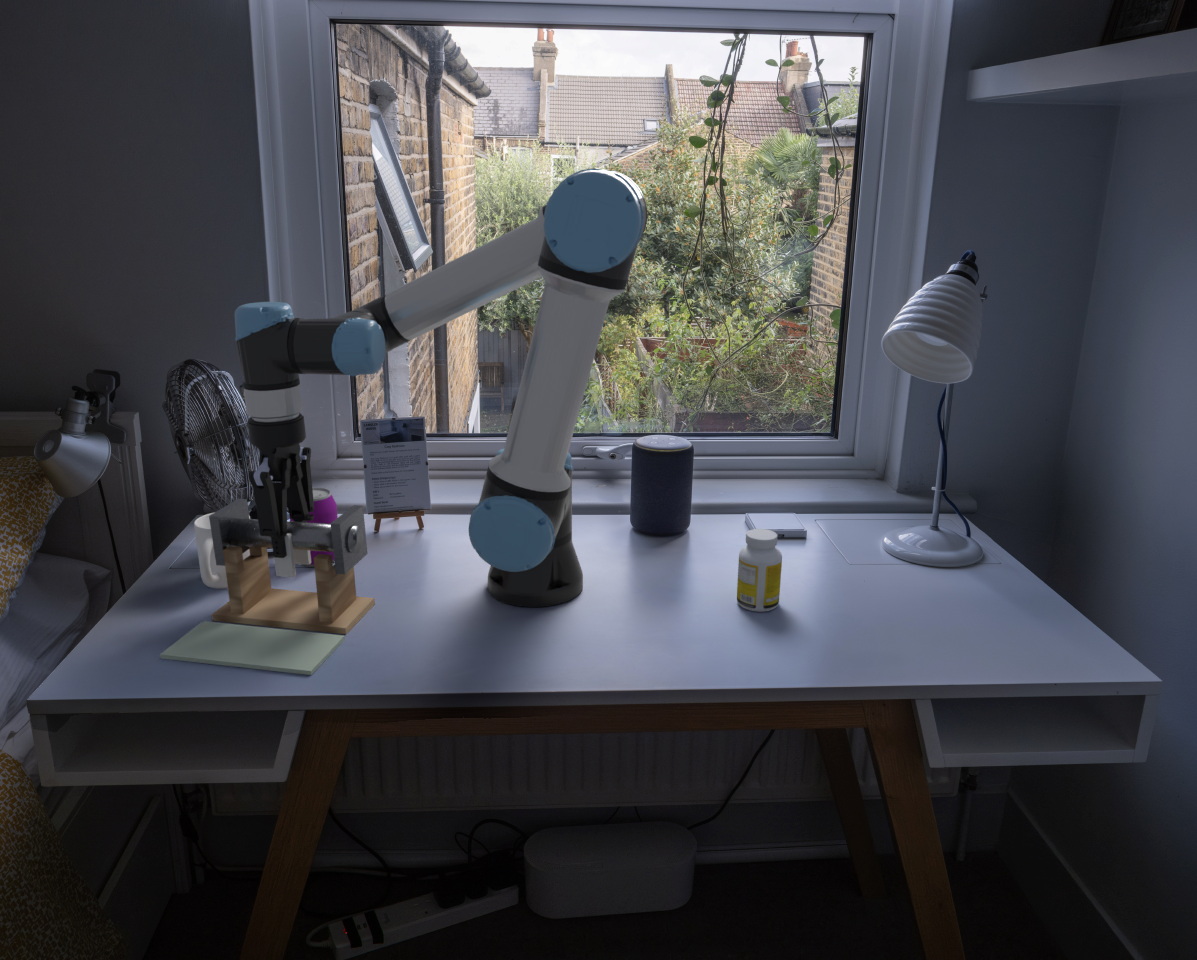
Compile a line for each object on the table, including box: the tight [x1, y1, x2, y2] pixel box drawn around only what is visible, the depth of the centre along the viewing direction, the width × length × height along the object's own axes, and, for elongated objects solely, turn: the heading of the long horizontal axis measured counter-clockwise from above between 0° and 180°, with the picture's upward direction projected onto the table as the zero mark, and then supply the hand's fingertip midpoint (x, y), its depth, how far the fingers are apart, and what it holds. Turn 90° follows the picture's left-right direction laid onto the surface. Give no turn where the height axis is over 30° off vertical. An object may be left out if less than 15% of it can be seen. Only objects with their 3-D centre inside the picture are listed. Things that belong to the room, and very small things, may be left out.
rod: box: [209, 498, 368, 574], centre depth 135 cm, size 21×8×8 cm, turn 79°
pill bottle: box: [736, 528, 783, 613], centre depth 141 cm, size 6×6×12 cm
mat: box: [159, 620, 346, 676], centre depth 128 cm, size 22×10×1 cm, turn 79°
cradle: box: [211, 546, 376, 635], centre depth 137 cm, size 21×10×11 cm, turn 79°
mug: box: [193, 511, 251, 590], centre depth 147 cm, size 12×8×10 cm
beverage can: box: [289, 487, 339, 568], centre depth 156 cm, size 8×8×12 cm
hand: (294, 568), depth 137 cm, fingers closed on rod, 4 cm apart
